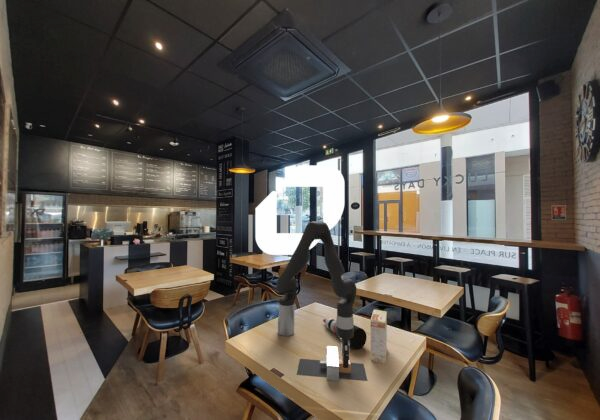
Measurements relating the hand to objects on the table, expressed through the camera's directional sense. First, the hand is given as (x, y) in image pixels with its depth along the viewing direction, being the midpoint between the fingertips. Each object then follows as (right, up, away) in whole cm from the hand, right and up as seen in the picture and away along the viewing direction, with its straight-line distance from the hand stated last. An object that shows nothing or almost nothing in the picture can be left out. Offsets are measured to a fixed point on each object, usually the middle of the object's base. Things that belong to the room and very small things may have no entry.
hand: (345, 361), depth 109 cm
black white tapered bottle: (+3, -6, +33) cm, 33 cm away
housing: (-5, -4, +1) cm, 7 cm away
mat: (-6, -4, +1) cm, 7 cm away
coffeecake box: (+20, -5, +14) cm, 25 cm away
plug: (-4, -4, 0) cm, 6 cm away
